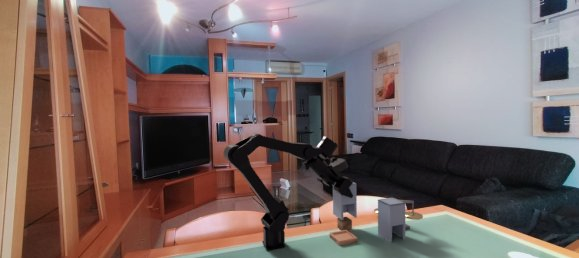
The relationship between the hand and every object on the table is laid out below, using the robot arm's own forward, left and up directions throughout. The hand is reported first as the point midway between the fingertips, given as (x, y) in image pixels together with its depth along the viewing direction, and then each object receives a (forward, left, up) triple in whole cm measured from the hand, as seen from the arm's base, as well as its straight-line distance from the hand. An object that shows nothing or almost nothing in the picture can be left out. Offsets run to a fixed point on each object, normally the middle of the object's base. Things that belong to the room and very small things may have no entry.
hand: (347, 194), depth 105 cm
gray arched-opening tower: (+11, -12, -13) cm, 21 cm away
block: (-1, 0, -13) cm, 14 cm away
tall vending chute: (-1, 0, -8) cm, 8 cm away
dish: (-6, -7, -13) cm, 17 cm away
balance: (+19, -5, -13) cm, 23 cm away
